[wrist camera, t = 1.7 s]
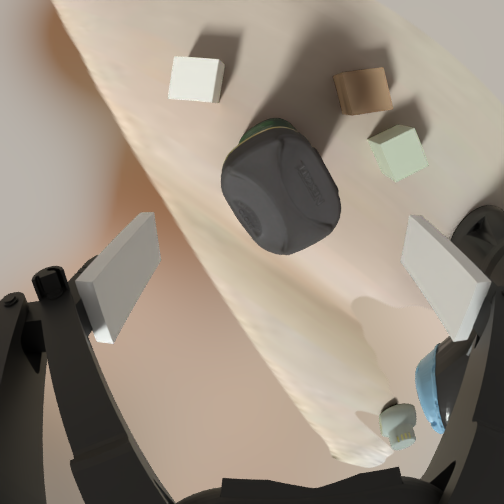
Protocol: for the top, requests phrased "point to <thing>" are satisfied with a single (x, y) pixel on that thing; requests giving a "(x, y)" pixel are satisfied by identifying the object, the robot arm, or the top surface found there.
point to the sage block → (398, 152)
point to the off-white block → (196, 79)
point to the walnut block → (363, 91)
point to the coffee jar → (280, 188)
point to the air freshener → (398, 425)
